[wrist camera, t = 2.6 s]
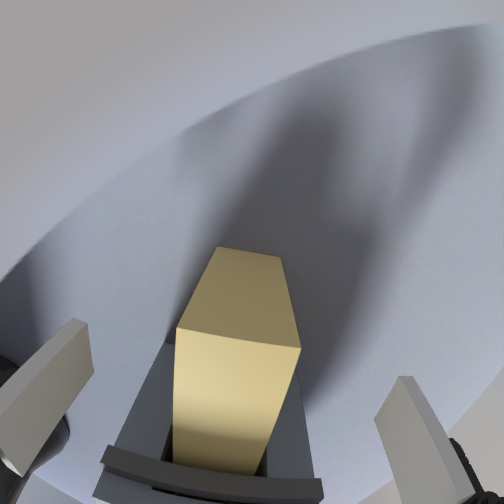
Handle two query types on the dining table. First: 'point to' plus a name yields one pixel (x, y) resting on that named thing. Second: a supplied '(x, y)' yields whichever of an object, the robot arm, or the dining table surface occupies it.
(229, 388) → the upright yellow slab
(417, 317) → the dining table surface
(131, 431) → the dispenser
